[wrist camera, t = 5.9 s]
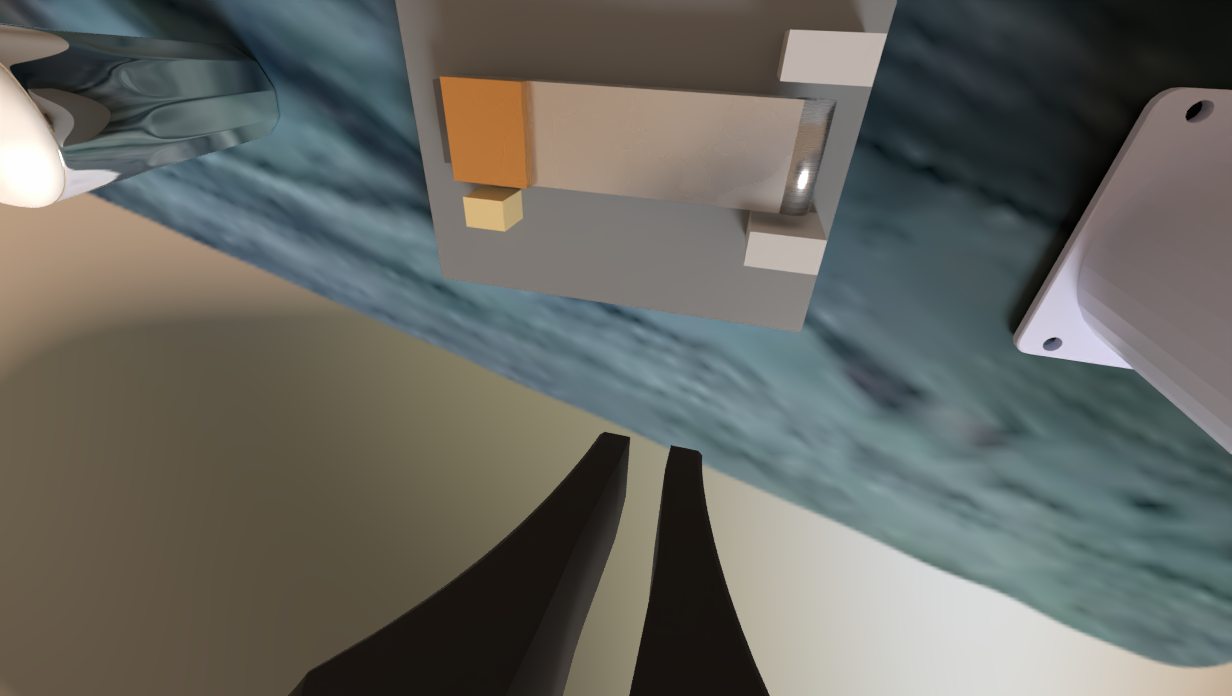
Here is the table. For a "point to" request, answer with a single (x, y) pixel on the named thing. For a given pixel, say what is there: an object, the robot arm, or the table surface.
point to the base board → (630, 226)
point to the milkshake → (117, 108)
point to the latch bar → (638, 140)
